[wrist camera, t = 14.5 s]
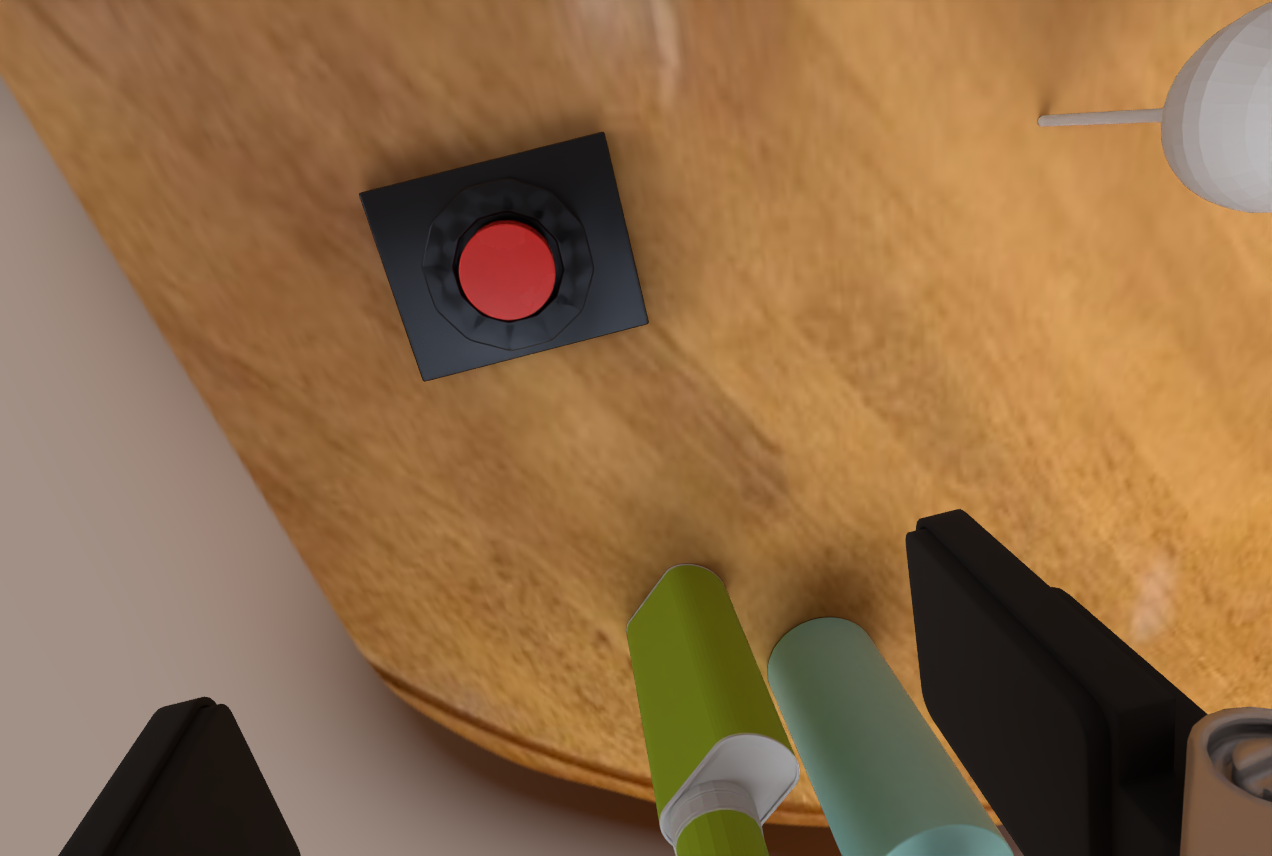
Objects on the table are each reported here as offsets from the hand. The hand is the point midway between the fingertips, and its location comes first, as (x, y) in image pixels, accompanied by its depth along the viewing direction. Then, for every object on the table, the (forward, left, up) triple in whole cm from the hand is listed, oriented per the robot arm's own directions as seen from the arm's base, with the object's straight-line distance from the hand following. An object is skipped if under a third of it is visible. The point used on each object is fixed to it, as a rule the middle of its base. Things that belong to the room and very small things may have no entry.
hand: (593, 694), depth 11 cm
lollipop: (+23, +3, -27) cm, 35 cm away
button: (-1, +3, -24) cm, 24 cm away
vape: (+2, -17, -27) cm, 32 cm away
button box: (-1, +3, -27) cm, 27 cm away
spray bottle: (+9, -22, -27) cm, 36 cm away
